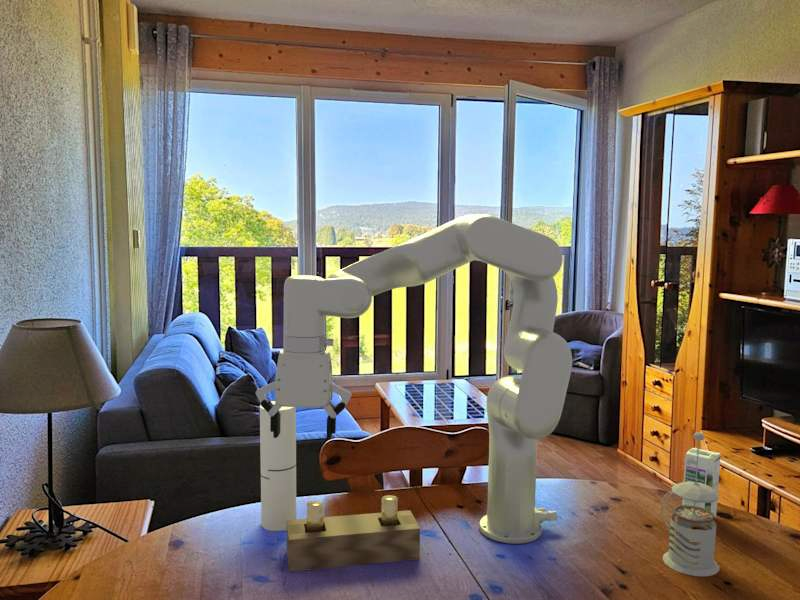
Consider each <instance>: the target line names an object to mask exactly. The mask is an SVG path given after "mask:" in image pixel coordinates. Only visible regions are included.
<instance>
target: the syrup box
mask: <svg viewBox="0 0 800 600" xmlns="http://www.w3.org/2000/svg"><path fill="white" fill-rule="evenodd" d="M697 449H698V447H692V448H690V449H689V450H688V451H687V452H686V453H685V456H684V467H683V468H684V469H683V470H684V472H683V482H688V481H691V482H695V480H696V464H697ZM721 454H722V453H721V452H715V451H711V450H710V451H709V450H707V449H700V448H699V453H698V468H697V482H698V483H702V484H705V485H707V486H710V487H711V488H712V489H714V490H715V491H716V492H717V493H718V494H719V480H720V466H721ZM681 505H692V506H694V502H693V501H689V500H686V499H683V498H682V504H681ZM695 506H696V507H697V506H698V507H701V508H704V509H707V510H709V511H711V512H712V513H713V514H714V515H715V518H717V511H718V510H717V508H718V507H717V506H718V500H717V501H715V502H711V503H697V502H695ZM702 524H704V525H706V526H709V524H708V523H702Z"/></svg>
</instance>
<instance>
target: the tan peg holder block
mask: <svg viewBox="0 0 800 600" xmlns="http://www.w3.org/2000/svg"><path fill="white" fill-rule="evenodd" d="M381 513H382V512H373V513H362V514H361V513H360V514H348V515H336V516H335V515H334V516H323V532H311V533H307V518H299V519H298V518H296V520H287V530H286V555H287V564H288V571H289V573H291V572H299V571H311V570H321V569H329V568H330V569H331V568H332V569H333V568H342V567H341V566H343V567H349V566H348V565H353V566H361V565H362V564H363V565H371V564H372V565H373V563H374V564H381V563H382V564H383V563H393V562H402V561H403V562H404V561H412V560H420V558H421V557H420V551H421V527H420V526H419V524H418V522H417V520H416V518H415V516H414V514H413V513H412V511H411V510H410V509H409V510H397V525H393V526H381ZM370 563H371V564H370Z"/></svg>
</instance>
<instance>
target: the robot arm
mask: <svg viewBox="0 0 800 600" xmlns="http://www.w3.org/2000/svg"><path fill="white" fill-rule="evenodd" d="M473 261H478V262H482V263H485V264H487V265H489V266H493V267H496V268H498V269H500V270H502V271H503V273H505V274H506V276H507V277H508V279H509V280H510V283H511V285H512V290H513V305H512V310H511V315H510V319H509V324H508V329H507V333H506V337H505V342H504V346H503V358H504V360H505V362H506V363H507V364H508V365H509V366H510V367H511V368H512V369H513V370H516V371H517V372H519V373H521V377H518V376H513V375H511V376H503V377H501V378H499V379H496V381H494V383H493V384H491V386H490V388H489V390H488V392H487V395H486V414H487V422H488V434H489V437H488V439H489V441H488V477H487V478H488V479H487V506H486V507H487V510H486V511H487V512H486V515H484V516H482V517H481V519H480V520H479V522H478V523H479V524H478V528H479V529H478V530H479V531H480V533H482V534H483V535H484V536H485V537H487V538H489V539H490V540H493V541H496V542H500V543H505V544H515V545H516V544H517V545H519V544H527V543H531V542H534V541H536V540H537V539H539V538H540V537H541V535H542V533H543V532H542V531H543V530H542V529H543V526H542V524H543V523H544V522H546V521H547V522H553V521H554V522H555V521H558V513H557V511H556V510H549V511H548V510H547V509H546V507H536V490H537V489H536V486H537V484H536V483H537V463H538V462H537V461H538V460H537V458H538V440H542V439H545V438H547V437H548V436H549V435H551V434H552V433H553V432H554V430H555V429H556V427H557V426H558V424H559V421H560V420H561V416H562V412H563V409H564V405H565V402H566V401H565V399H566V396H567V391H568V386H569V382H570V379H571V373H572V368H573V357H572V355H573V354H572V350H571V348H570V345H569V343H568V341H566V339H565V338H563V337H562V336H561V335H559V334H557V333H556V332H554V328H555V322H556V315H557V309H558V300H559V299H558V289H557V288H558V287H557V284H556V281H555V278H554V277H555V276H556V275H558V274H559V272H560V270H561V268H562V266H563V261H564V258H563V252H562V249H561V247H560V246H559V244H558V243H557V242H556V241H555V240H554V239H553V238H552V237H549V236H548V235H545V234H542V233H539V232H537V231H535V230H532V229H529V228H526V227H523V226H520V225H518V224H515V223H513V222H509V221H508V220H506V219H503V218H499V217H497V216H494V215H490V214H466V215H463V216H459V217H457V218H454V219H453V220H450V221H448V222H446V223H444V224H442V225H440V226H437V227H436V228H434V229H431V230H430V231H427V232H425V233H424V234H421V235H419V236H416V237H414V238H412V239H409V240H407V241H405V242H403V243H400V244H398V245H397V244H396V245H394V246H393V247H390V248H388V249H385V250H384V251H381V252H378V253H375V254H373V255H370V256H368V257H366V258H363V259H360V260H358V261H356V262H354V263H352V264H350V265H347V266H345V267H343V268H342V269H341V268H340V269H339V270H337V271H335V272H333V273H332V274H330V275H329V276H327V278H323V277H322V276H319V275H318V276H317V275H309V274H307V275H306V274H300V275H298V274H296V275H291V276H288V277H286V279H285V281H284V283H283V332H282V333H283V338H282V339H283V346H282V347H283V348H282V349H280V350H279V353H278V359H277V364H276V372H275V380H274V381H273V382H270V383H267V384H266V385H264V386H262V387H260V388H258V389H256V391H255V395H256V398H257V399H258V402H259V403H260V405H261V406H262V407H263V408H264V409H265V410H266V411H267V412H268V414H269V416H271V423H270V431H271V432H273V437H274V438H277V437H278V436H279V434H280V419H281V414H280V412H279V409H280V408H281V407H282V406H284V407H296V408H312V409H315V408H316V409H317V408H318V409H321V408H322V409H323V410H324V411H325V413H327V418H326V439H327V440H329V441H330V440H331V439H332V436H333V434H334V435H335V434H336V432H337V430H336V429H337V428H336V427H337V416H338V415H339V414H340V413H341V412H342V411H344V410H345V408H346V407H347V405H348V403H349V401H350V400H351V398H352V396H353V395H352V392H351V391H349V390H348V389H346V388H344V387H342V386H340V385H338V384H336V383H334V382H333V366H332V357H331V352H330V350H329V349H328V350H326V349H327V348H329V347H334V344H335V341H334V338H330V337H328V336H327V333H326V331H327V330H326V329H327V325H326V324H327V317H335V318H342V319H354V318H358V317H361V316H363V315H364V314H366V313H367V312H368V310H369V309H370V307H371V306H372V305H371V304H372V301H373V297H374V296H377V295H379V294H381V293H385V292H387V291H388V292H389V291H390V290H394V289H399V288H407V287H408V288H409V287H417V286H421V285H424V284H427V283H429V282H432V281H433V280H434V281H435V280H436V279H438V278H439V277H442V276H443V275H445V274H447V273H450V272H452V271H454V270H456V269H458V268H460V267H463V266H465V265H466V264H467V265H468V264H469V263H471V262H473ZM273 391H274V401H275V402H276V403H275V404H274V405H273V404H272V403H271V400H269V399H268V397H267V394H269V393H271V392H273ZM333 393H335V394H336V395H338V396H340V397H341V399H340V401H339V403H338V404H336V405H335V404H334V403H333V401H332V400H333Z"/></svg>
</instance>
